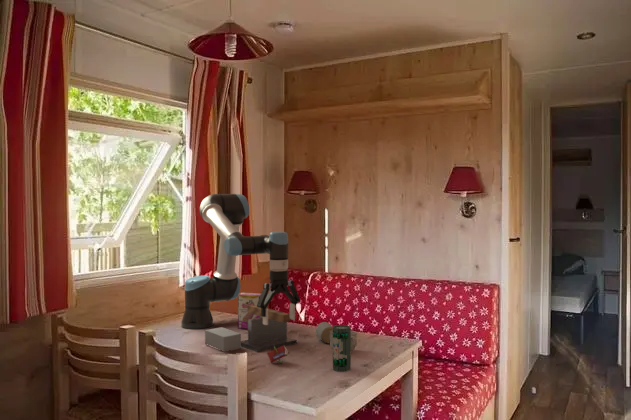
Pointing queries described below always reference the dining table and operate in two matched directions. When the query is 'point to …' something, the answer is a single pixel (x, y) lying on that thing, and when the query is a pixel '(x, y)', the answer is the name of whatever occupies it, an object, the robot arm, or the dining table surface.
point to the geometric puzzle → (277, 353)
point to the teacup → (353, 339)
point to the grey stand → (223, 339)
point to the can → (341, 348)
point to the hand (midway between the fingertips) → (279, 322)
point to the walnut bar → (270, 314)
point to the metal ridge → (266, 335)
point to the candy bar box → (246, 308)
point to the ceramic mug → (324, 331)
